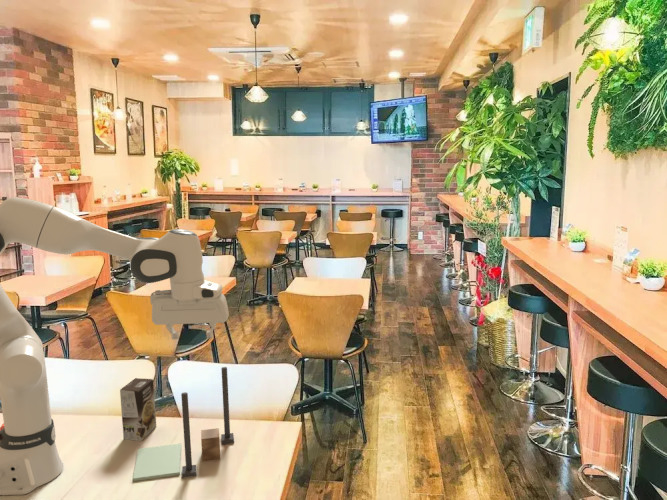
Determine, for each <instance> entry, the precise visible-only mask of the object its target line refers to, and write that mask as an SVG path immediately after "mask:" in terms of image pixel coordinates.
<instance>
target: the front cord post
mask: <svg viewBox="0 0 667 500" xmlns="http://www.w3.org/2000/svg"><path fill="white" fill-rule="evenodd" d="M188 394H189V393H188V392H181V395H180V396H181V408H182V409H181V410H182V424H183V426H182V427H183V441H184V454H185V455H184V457H185V465H182V467H181V468H182V469H181V475H182V476H181V477H182V479H184V478H191V477H197V464H193V462H192V461H193V459H192V457H193V456H192V446H191V432H190V431H191V430H190V429H191V428H190V414H189V413H190V410H189V396H188Z"/></svg>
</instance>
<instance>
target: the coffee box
mask: <svg viewBox="0 0 667 500" xmlns="http://www.w3.org/2000/svg"><path fill="white" fill-rule="evenodd" d="M119 389H120V390H119V393H120V396H119V397H120V407H121V421H122V434H123V436H122V437H123V439H125V440H131V441H140V442H141V441H143V440H144V439H146V437H147V436H149V434H150V433H151V432H152V431H154V430H155V428H157V418H156V417H157V416H156V415H157V414H156V401H155V388H154V379H153V378H140V377H139V378H138V377H136V378H134V379H132V380H131V381H130V382H128V383H127V384H125V385H124V386H122V387H121V388H119Z"/></svg>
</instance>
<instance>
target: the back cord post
mask: <svg viewBox="0 0 667 500" xmlns="http://www.w3.org/2000/svg"><path fill="white" fill-rule="evenodd" d="M220 370H221V386H222V407H223V409H222V410H223V424H224V425H223V426H224V427H223V428H224V430H223V431H224V434H223V433H222V434H221V435H220V437H221V445H227V444H234V443H235V437H234V436H235V435H234V433H233V432H231V425H230V423H231V422H230V406H229V405H230V404H229V402H230V401H229V383H228V380H229V379H228V367H226V366H223V367H221V369H220Z"/></svg>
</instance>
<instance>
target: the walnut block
mask: <svg viewBox="0 0 667 500" xmlns="http://www.w3.org/2000/svg"><path fill="white" fill-rule="evenodd" d="M200 439H201V440H200V441H201V443H200V444H201V462H202V463H205V462H211V461H217V460H221V443H220V442H221V441H220V428H218V427H216V428H208V429H202V430H200Z"/></svg>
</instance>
